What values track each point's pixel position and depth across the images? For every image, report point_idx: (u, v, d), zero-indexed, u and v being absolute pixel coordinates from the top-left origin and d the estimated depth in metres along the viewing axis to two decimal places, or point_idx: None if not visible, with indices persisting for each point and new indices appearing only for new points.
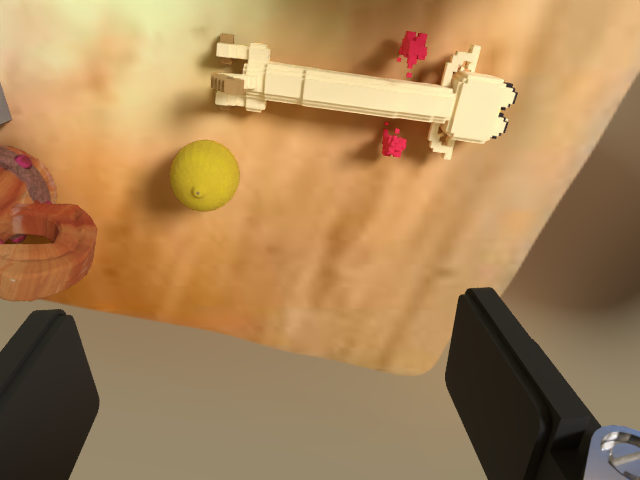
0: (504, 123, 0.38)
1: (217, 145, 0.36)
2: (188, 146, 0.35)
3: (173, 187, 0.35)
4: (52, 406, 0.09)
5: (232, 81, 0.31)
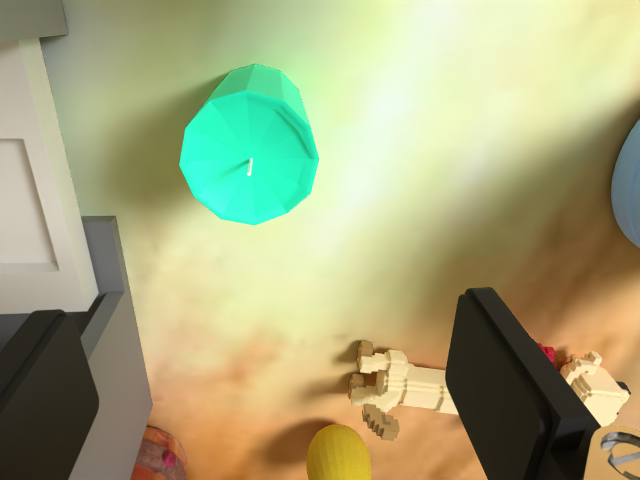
0: (615, 415, 0.40)
1: (354, 443, 0.38)
2: (328, 448, 0.37)
3: None
4: (52, 406, 0.09)
5: (391, 431, 0.32)
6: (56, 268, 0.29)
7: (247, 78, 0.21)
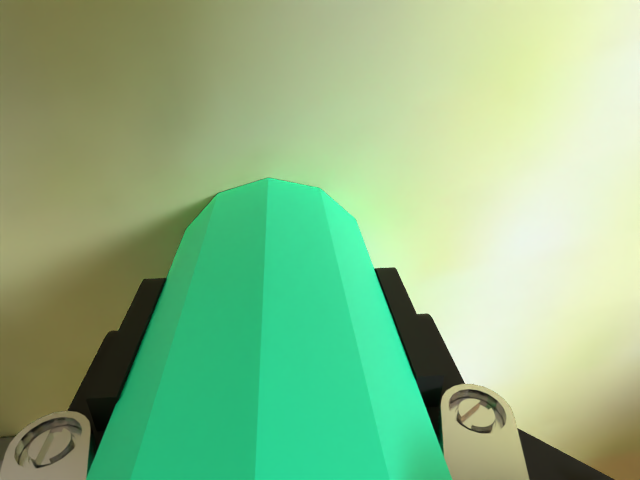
0: None
1: None
2: None
3: None
4: None
5: None
6: None
7: (253, 316, 0.07)
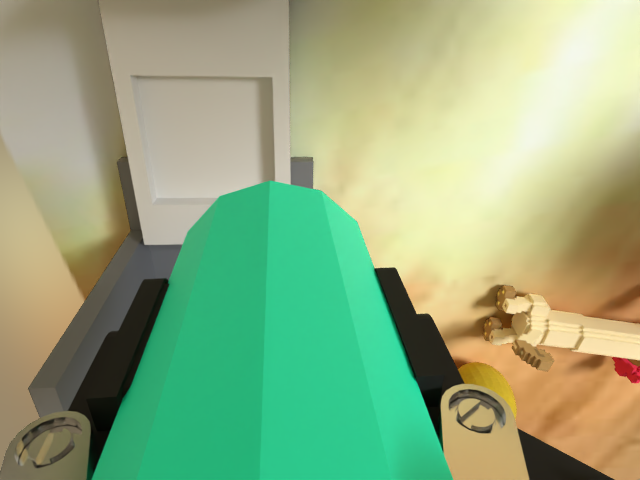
0: None
1: (499, 377, 0.41)
2: (478, 380, 0.40)
3: None
4: None
5: (547, 362, 0.35)
6: None
7: (256, 320, 0.07)
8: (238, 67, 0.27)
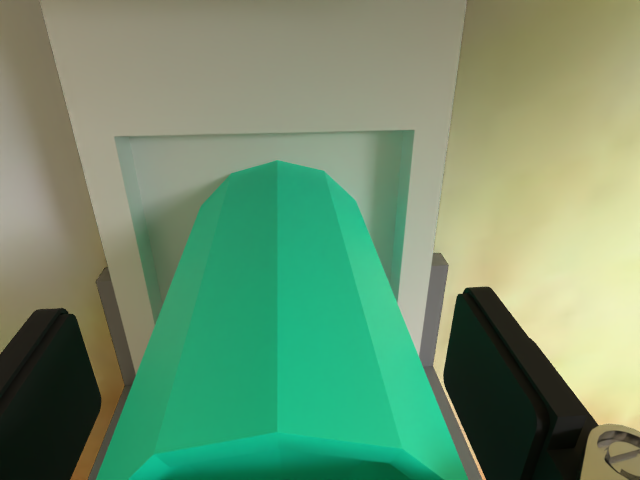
0: None
1: None
2: None
3: None
4: (54, 405, 0.09)
5: None
6: None
7: (270, 265, 0.09)
8: (346, 112, 0.13)
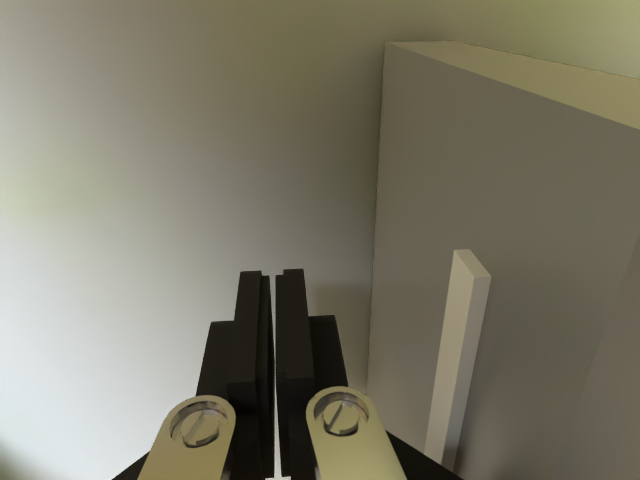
0: None
1: None
2: None
3: None
4: (270, 351, 0.10)
5: None
6: None
7: None
8: None
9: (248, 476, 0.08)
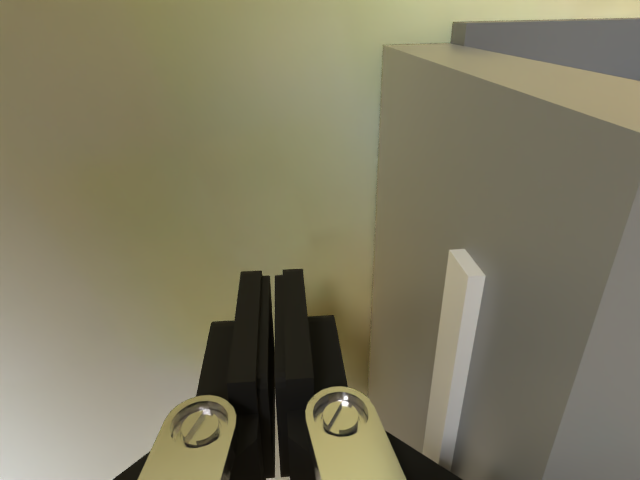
0: None
1: None
2: None
3: None
4: (271, 351, 0.10)
5: None
6: None
7: None
8: None
9: (249, 476, 0.08)
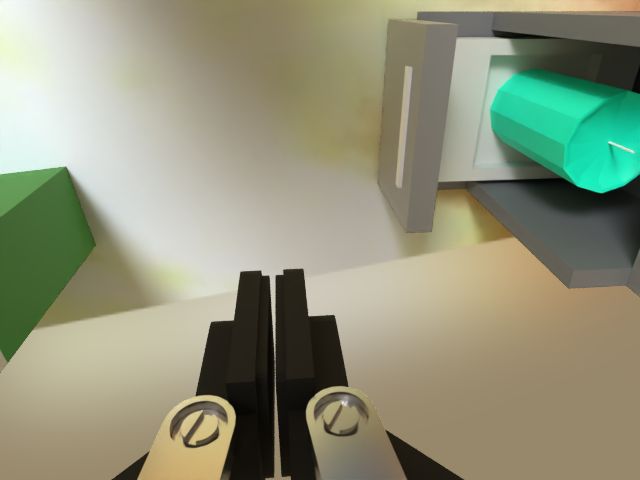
0: None
1: None
2: None
3: None
4: (270, 351, 0.10)
5: None
6: (598, 58, 0.33)
7: (531, 131, 0.30)
8: (479, 84, 0.33)
9: (248, 476, 0.08)
